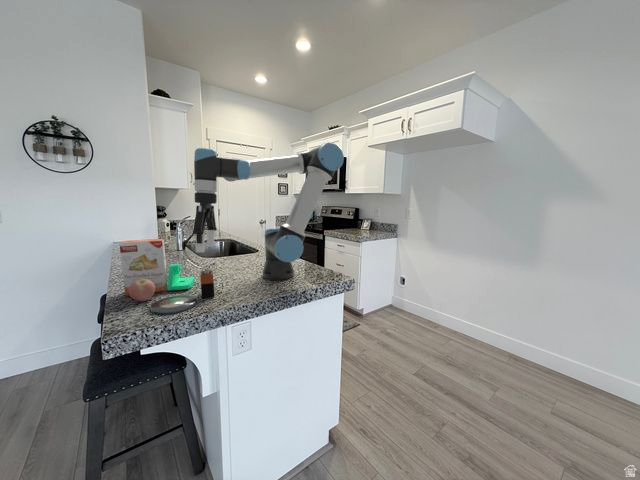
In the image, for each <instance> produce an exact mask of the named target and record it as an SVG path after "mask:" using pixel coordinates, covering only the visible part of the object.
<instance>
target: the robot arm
mask: <svg viewBox="0 0 640 480" xmlns="http://www.w3.org/2000/svg"><path fill="white" fill-rule="evenodd" d="M344 156H345V155H344V152H343V150H342V148H341V147H340V146H339V145H338V144H337V143H335V142H330V141H329V142H324V143H323V142H322V143H321V144H320V145H318V146H316V147H314V148H312V149H309V150H306V151H302V152H298V153H296V154H295V155H288V156H280V157H279V156H278V157H271V158H269V157H268V158H261V159H260V158H259V159H251V160H248V159H242V158H234V157H232V158H231V157H224V156H219V155H218V153H217V151H216V150H215V149H211V148H205V147H200V148H196V149H195V150H194V158H193V159H194V161H193V162H194V163H193V165H194V166H193V167H194V168H193V169H194V170H193V171H194V173H193V174H194V182H193V183H192V184H193V186H194V191H195V192H194V203H197V204H199V205H196V206H195V208H196V209H195V210H196V211H195V218H194V225H193V230H192V234H193V235H195V253H205V233H204V231H205V227H207V230H206V247H215V231H217V229H218V227H217V225H216V224H217V223H216V218H215V217H216V216H215V206H214V205H215V204H217V203H218V202H217V201H218V199H217V197H218V196H217V192H218V188H217V187H218V185H217V183H218V182H217V180H218V178H223V179H224V180H225V181H227V182H235V181H242V180H246V181H247V180H249V179H254V178H255V179H256V178H263V177H265V178H266V177H270V176H272V177H273V176H278V175H286V174H287V175H288V174H295V173H298V174H300V175H304V174H307V175H306V178H305V181H304V182H303V184H302V187H301V189H300V191H299V192H298V193H299V194H298V196H297V197H296V200H295V202H294V205H293V207H292V209H291V211H290V213H289V215H288V217H287V219H286V222H285V223H283V224H281V225H279V226H280V227H279V228H268V229H265V231H264V244H265V246H264V248H265V262H264V266H263V269H262V272H261V273H262V278H263V279H265V280H269V281H282V280H287V279H291V278H294V276H295V269H294V267H293V264H292V262H295V261H297V260H299V258H300V257H301V256H302V255H303V253H304V244H303V243H304V241H305V238H306V233H305V230H306V228H307V226H308V224H309V222H310V219H311V216H312V215H313V212H314V210H315V208H316V205H317V203H318V202H319V199H320V197H321V195H322V193H323V190H324V189H325V186H326V184H327V183H328V182H329V181H332V180H333V177H334V174H335V172H336V171H338V170H339V169H341V167H342V166H343V164H344V162H345V161H344V159H345V157H344ZM212 204H214V205H212Z"/></svg>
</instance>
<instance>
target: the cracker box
mask: <svg viewBox="0 0 640 480" xmlns="http://www.w3.org/2000/svg"><path fill="white" fill-rule="evenodd" d="M165 248H166V247H165V240H164V238H159V239H158V238H156V239H135V240H133V239H132V240H122V241H121V242H119V251H120V252H119V253H120V261H121V270H122V271H121V273H122V280H123V288H124V296H125V297H128V296H130V294H129V287H130V285H131V284H132V283H133V282H134V281H136V280H139V279H149V280H151V281H152V282H153V283H154V285H155V292H154V293H161V292H166V291H168V273H167V262H166V251H165V250H166V249H165ZM130 297H131V296H130Z"/></svg>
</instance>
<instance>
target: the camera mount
mask: <svg viewBox="0 0 640 480" xmlns="http://www.w3.org/2000/svg"><path fill="white" fill-rule="evenodd" d="M181 273H182V264H181V263H171V264H170V265H169V269H168V278H167V283H168V287H167V291H177V290H188V289H192V288H193V286H194V284H195V283H194V282H195V280H196V278H195V276H187V277H181V276H180V275H181Z"/></svg>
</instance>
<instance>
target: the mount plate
mask: <svg viewBox="0 0 640 480" xmlns="http://www.w3.org/2000/svg"><path fill="white" fill-rule="evenodd" d="M197 301H198V300H197V297H196V296H194V295H187V294H186V295H185V294H181V295H172V296H168V297H167V296H166V297H164V298H162V299H158V300H156V301H155V302H153V303H151V305H150V312H151V313H152V314H155V315H164V316H165V315H173V314H178V313H181V312H185V311H188V310H191V309H193V308H194V307H195V306H196V305H197Z"/></svg>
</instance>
